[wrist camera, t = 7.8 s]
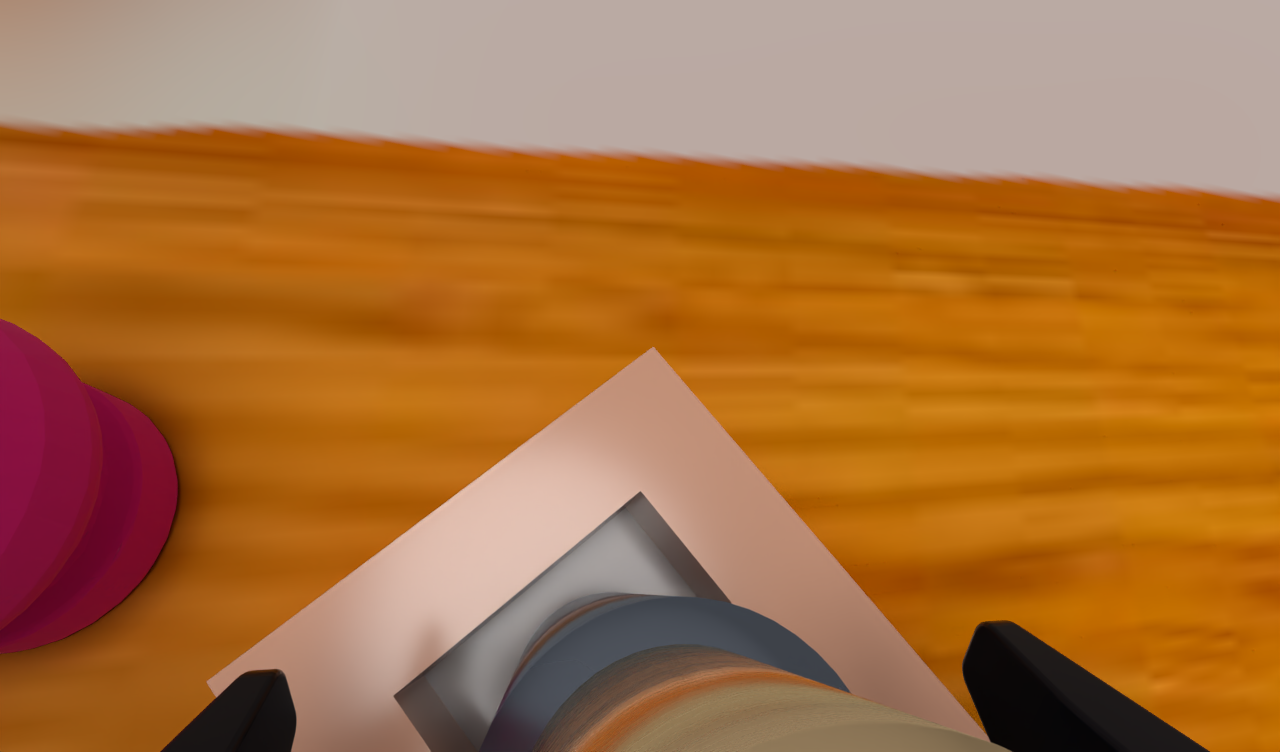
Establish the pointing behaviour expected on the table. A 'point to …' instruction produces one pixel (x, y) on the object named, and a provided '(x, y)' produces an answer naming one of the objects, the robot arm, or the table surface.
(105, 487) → the pepper mill
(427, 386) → the table surface
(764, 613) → the socket block
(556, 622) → the tube
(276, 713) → the robot arm
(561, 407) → the table surface
